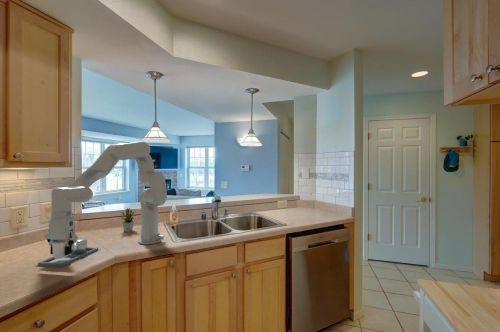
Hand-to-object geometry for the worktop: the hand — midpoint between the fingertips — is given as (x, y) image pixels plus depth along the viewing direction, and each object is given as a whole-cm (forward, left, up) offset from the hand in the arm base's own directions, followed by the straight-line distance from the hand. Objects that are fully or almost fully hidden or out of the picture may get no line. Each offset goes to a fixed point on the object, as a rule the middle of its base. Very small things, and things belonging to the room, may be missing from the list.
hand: (61, 253), depth 115 cm
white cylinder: (0, 0, -1) cm, 1 cm away
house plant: (+6, -59, -5) cm, 60 cm away
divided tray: (0, -5, -5) cm, 7 cm away
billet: (0, -11, -4) cm, 11 cm away
